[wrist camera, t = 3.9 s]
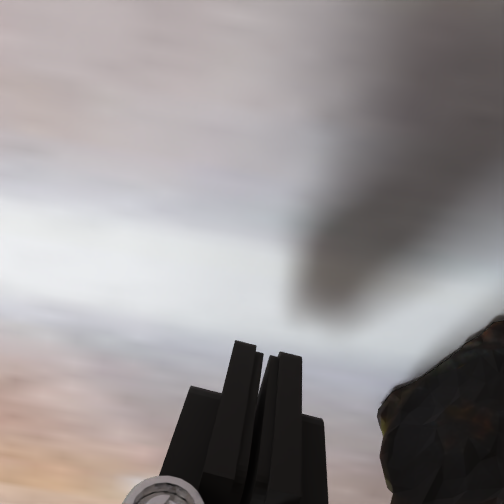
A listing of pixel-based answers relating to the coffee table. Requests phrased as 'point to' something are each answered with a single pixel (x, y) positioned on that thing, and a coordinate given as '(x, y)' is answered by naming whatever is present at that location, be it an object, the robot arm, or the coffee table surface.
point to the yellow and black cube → (449, 429)
